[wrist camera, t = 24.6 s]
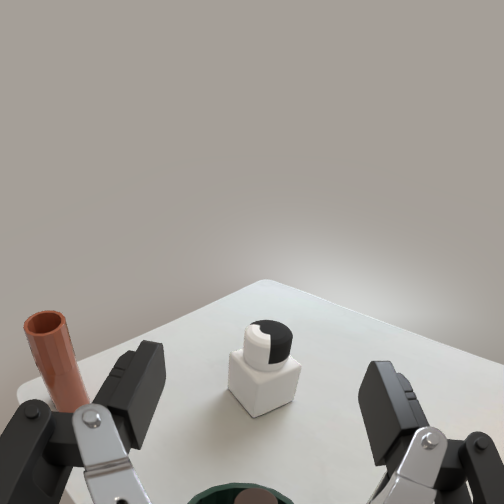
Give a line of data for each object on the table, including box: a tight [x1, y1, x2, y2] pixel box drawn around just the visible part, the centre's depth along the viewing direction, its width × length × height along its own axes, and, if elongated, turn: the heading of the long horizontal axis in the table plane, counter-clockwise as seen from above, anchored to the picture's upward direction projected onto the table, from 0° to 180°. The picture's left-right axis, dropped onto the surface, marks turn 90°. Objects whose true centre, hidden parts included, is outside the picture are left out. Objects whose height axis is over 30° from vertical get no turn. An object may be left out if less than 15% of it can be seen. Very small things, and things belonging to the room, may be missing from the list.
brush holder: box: [23, 311, 90, 413], centre depth 31 cm, size 6×6×14 cm
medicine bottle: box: [228, 320, 301, 418], centre depth 39 cm, size 7×7×12 cm
